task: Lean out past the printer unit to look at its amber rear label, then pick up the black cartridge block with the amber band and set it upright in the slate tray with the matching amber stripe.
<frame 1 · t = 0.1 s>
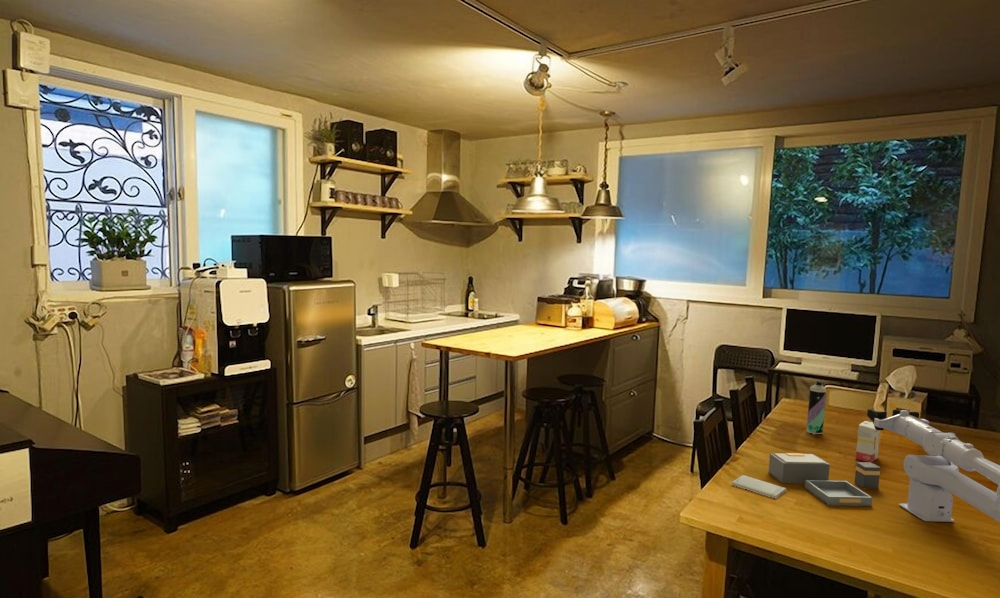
hand: (881, 412, 171), 22 cm above the table, tool horizontal, fingers open, 7 cm apart
ink box: (866, 459, 194), on the table
hard drive: (758, 490, 166), on the table
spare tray: (837, 496, 162), on the table
spray can: (814, 433, 221), on the table
cartridge block: (866, 486, 170), on the table
printer unit: (797, 477, 174), on the table
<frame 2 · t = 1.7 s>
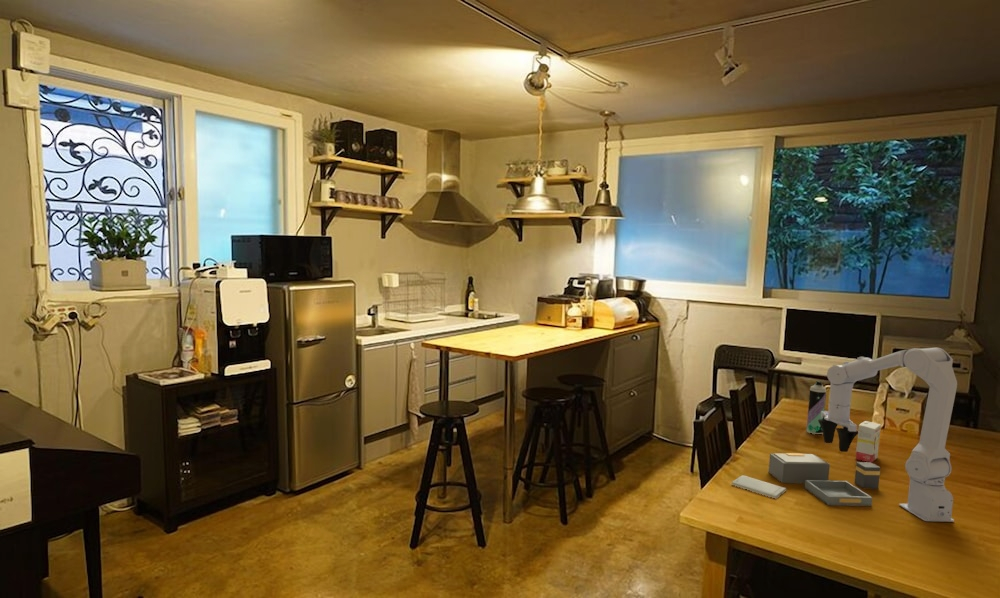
hand: (835, 446, 177), 9 cm above the table, tool pointing down, fingers open, 7 cm apart
nothing on the table moved.
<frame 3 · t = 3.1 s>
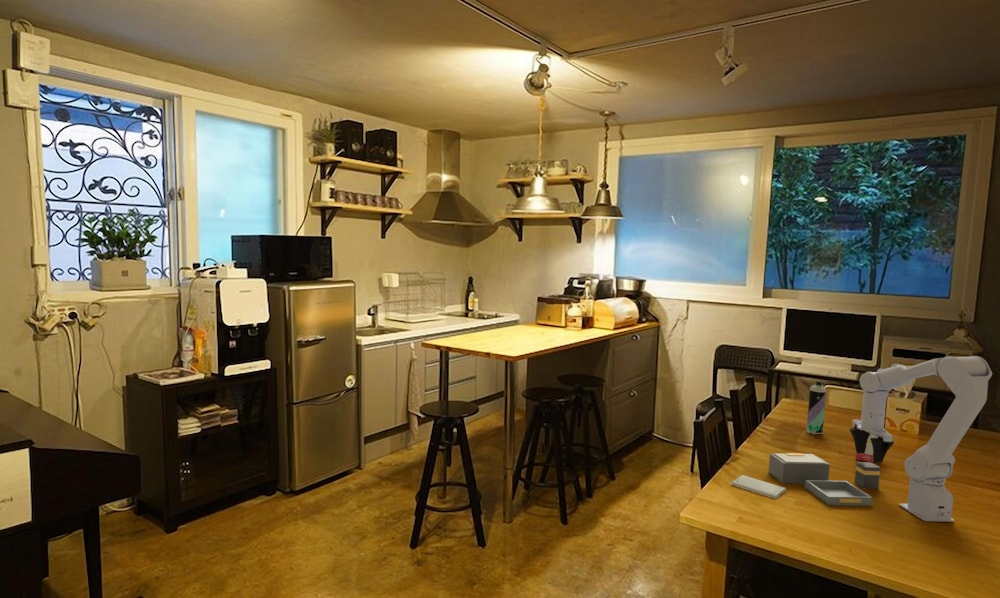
hand: (868, 457, 169), 9 cm above the table, tool pointing down, fingers open, 7 cm apart
nothing on the table moved.
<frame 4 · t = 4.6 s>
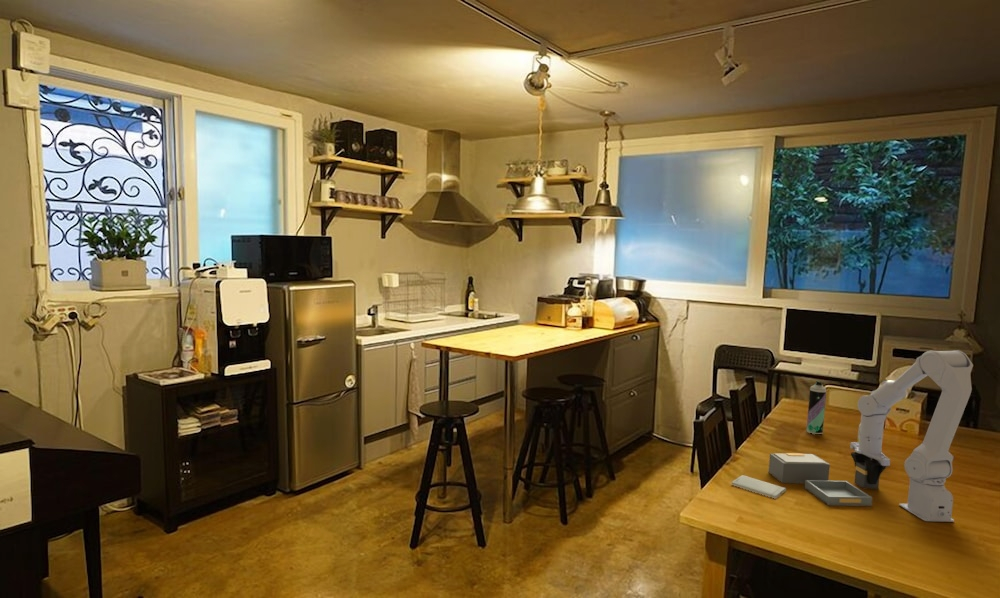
hand: (866, 480, 170), 2 cm above the table, tool pointing down, fingers closed on cartridge block, 4 cm apart
cartridge block: (866, 485, 170), on the table, touching gripper
everything else where it was.
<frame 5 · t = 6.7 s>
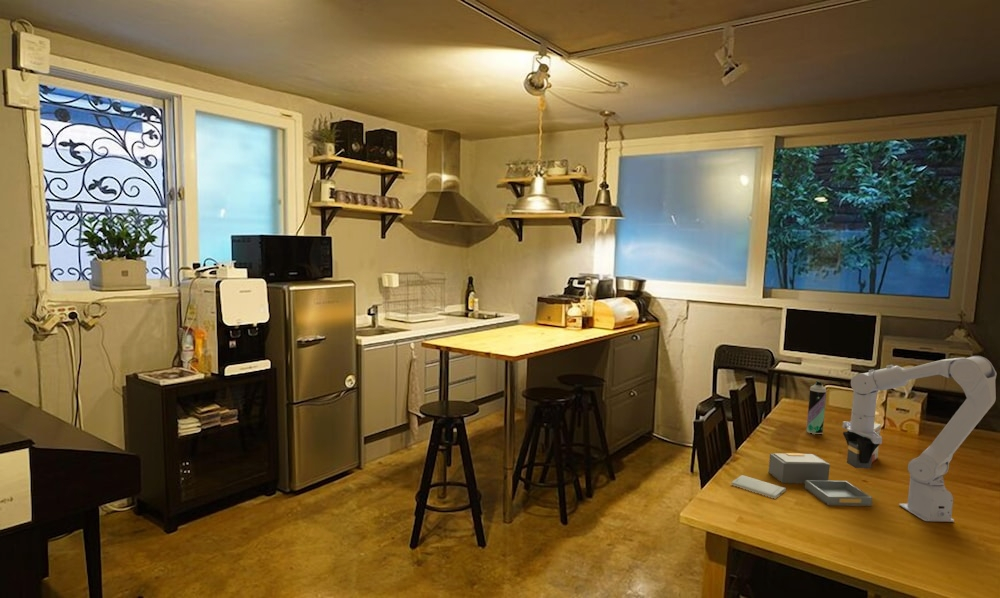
hand: (858, 459, 166), 9 cm above the table, tool pointing down, fingers closed on cartridge block, 4 cm apart
cartridge block: (858, 465, 167), point 7 cm above the table, touching gripper
everything else where it was.
when the fingers open (3 cm above the table, at t = 9.0 s): cartridge block stays where it is, resting on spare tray.
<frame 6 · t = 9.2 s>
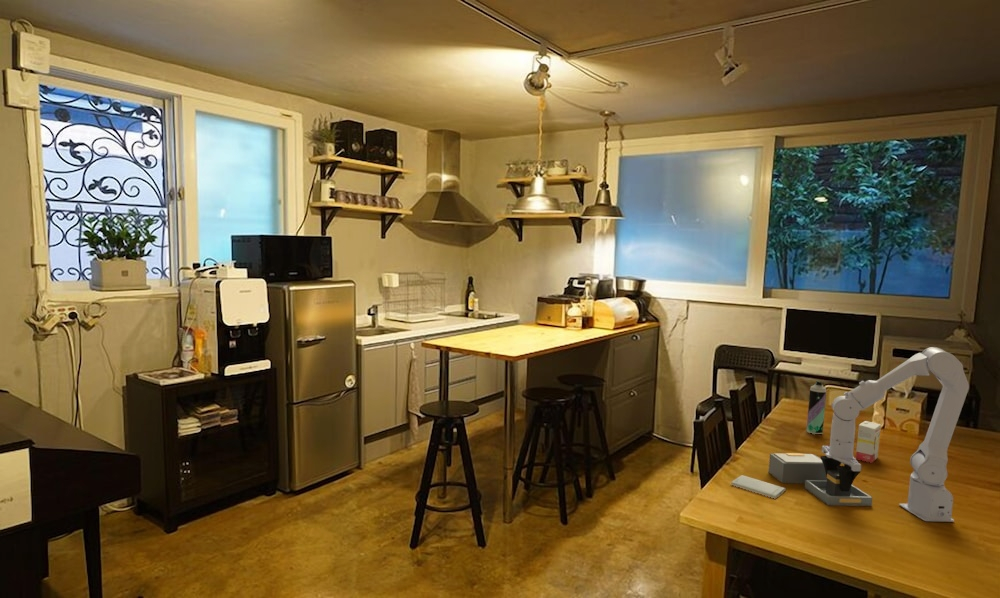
hand: (837, 486, 161), 3 cm above the table, tool pointing down, fingers open, 5 cm apart
cartridge block: (837, 495, 162), resting on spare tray
everything else where it was.
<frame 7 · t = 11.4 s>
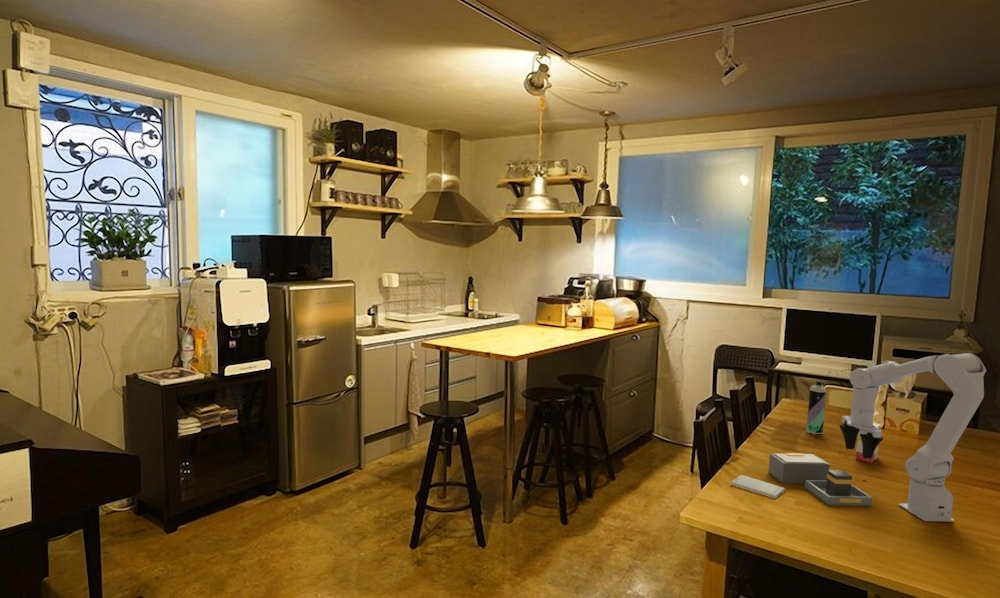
hand: (858, 453, 170), 9 cm above the table, tool pointing down, fingers open, 7 cm apart
nothing on the table moved.
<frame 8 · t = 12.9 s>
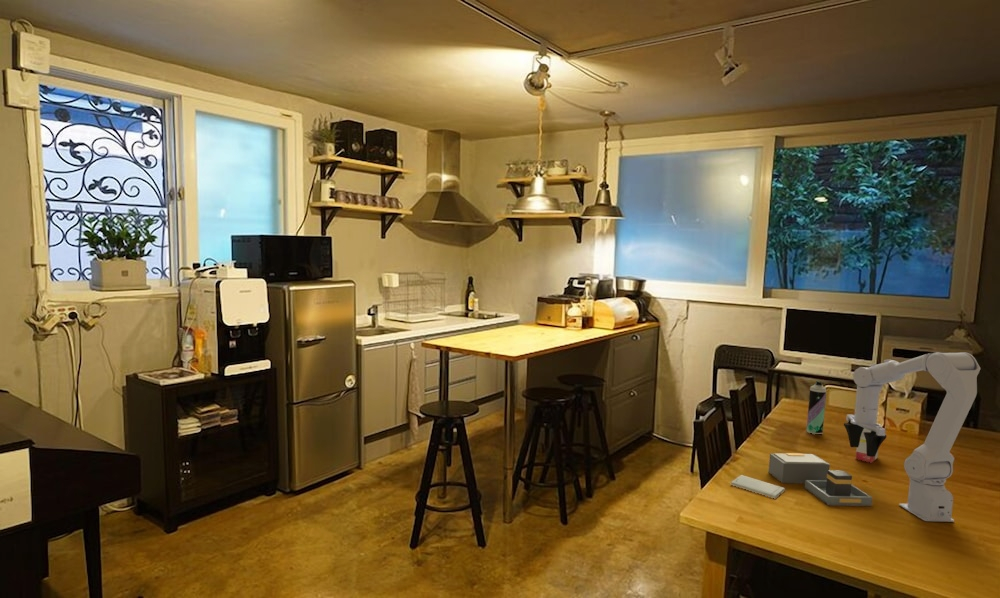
hand: (862, 451, 172), 9 cm above the table, tool pointing down, fingers open, 7 cm apart
nothing on the table moved.
at the end: cartridge block inside the target area on the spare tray (0.2 cm from its centre), point 0.4 cm above the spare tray's base; cartridge block tilted 0°; the gripper is holding nothing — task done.
